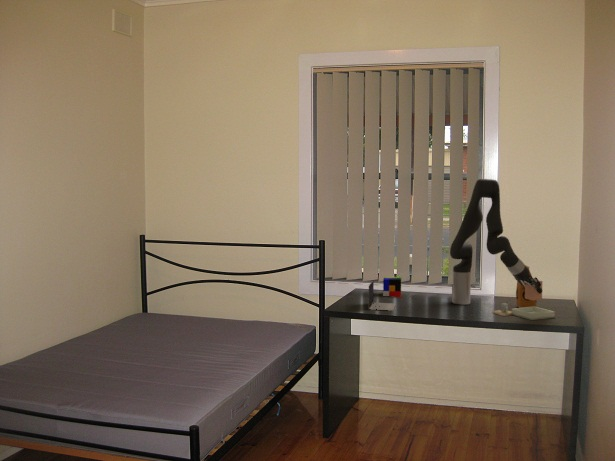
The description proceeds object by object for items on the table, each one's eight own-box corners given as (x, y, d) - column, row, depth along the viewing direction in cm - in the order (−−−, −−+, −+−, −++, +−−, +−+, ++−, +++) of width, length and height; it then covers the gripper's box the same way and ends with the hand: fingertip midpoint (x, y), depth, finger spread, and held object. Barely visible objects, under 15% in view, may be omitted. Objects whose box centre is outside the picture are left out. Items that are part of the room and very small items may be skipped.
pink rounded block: (524, 298, 311) (525, 280, 311) (536, 297, 314) (536, 279, 313) (532, 300, 306) (533, 281, 305) (544, 299, 309) (544, 280, 308)
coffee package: (516, 310, 324) (517, 267, 323) (515, 305, 336) (516, 264, 335) (537, 311, 322) (538, 268, 320) (535, 306, 334) (536, 265, 332)
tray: (511, 314, 314) (511, 308, 314) (533, 312, 320) (534, 306, 319) (531, 320, 301) (531, 314, 301) (554, 317, 307) (554, 311, 307)
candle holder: (492, 312, 318) (492, 303, 318) (505, 311, 322) (505, 301, 321) (503, 316, 311) (503, 305, 311) (516, 314, 314) (516, 304, 314)
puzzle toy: (383, 296, 364) (383, 279, 364) (384, 293, 374) (384, 276, 373) (400, 297, 363) (400, 279, 362) (401, 294, 373) (401, 277, 372)
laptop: (392, 311, 324) (393, 286, 323) (368, 310, 327) (368, 285, 326) (395, 304, 342) (396, 280, 341) (372, 304, 344) (372, 280, 343)
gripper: (532, 264, 299) (551, 287, 304) (511, 261, 312) (530, 283, 318) (523, 276, 297) (542, 299, 303) (502, 272, 311) (521, 294, 316)
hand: (536, 291), depth 310 cm, fingers closed on pink rounded block, 5 cm apart
